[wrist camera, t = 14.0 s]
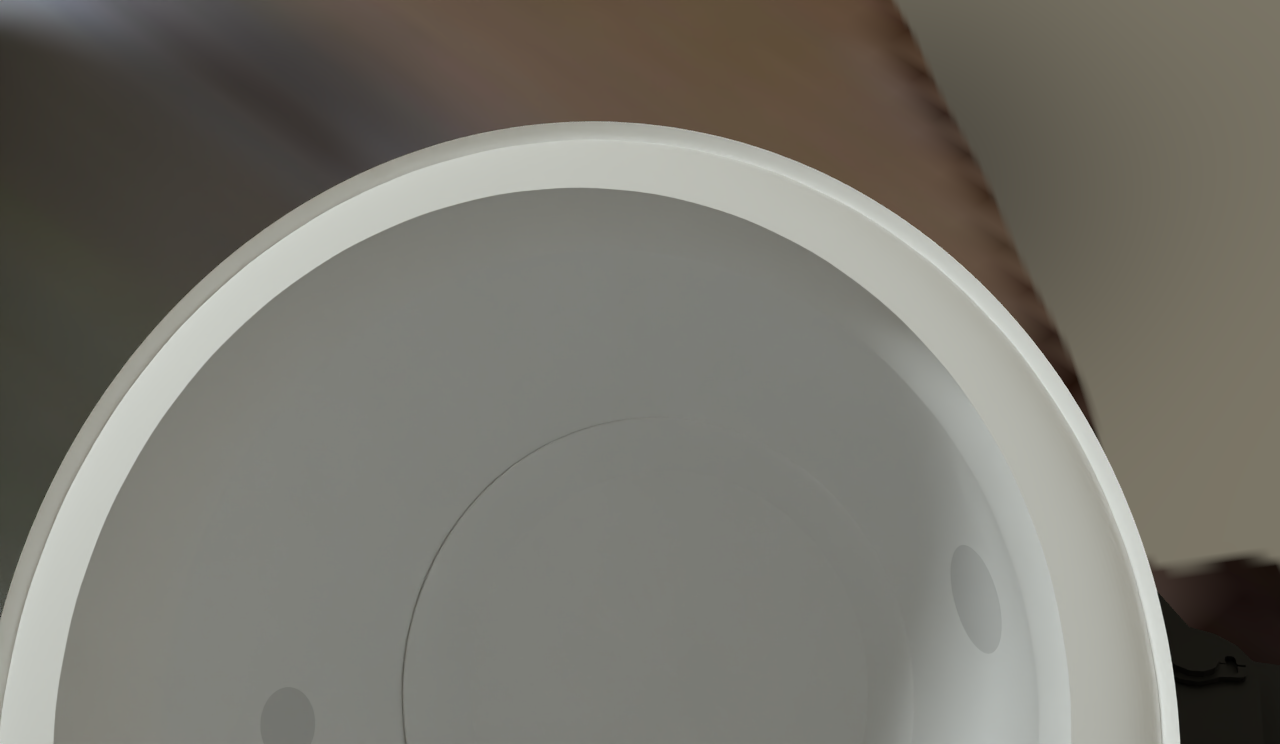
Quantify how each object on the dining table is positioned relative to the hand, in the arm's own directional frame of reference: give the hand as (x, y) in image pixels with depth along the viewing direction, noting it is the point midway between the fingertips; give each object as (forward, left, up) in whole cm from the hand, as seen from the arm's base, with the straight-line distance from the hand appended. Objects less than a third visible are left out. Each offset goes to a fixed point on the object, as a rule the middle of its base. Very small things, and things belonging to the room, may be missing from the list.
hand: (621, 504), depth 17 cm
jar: (-3, -1, -6) cm, 7 cm away
